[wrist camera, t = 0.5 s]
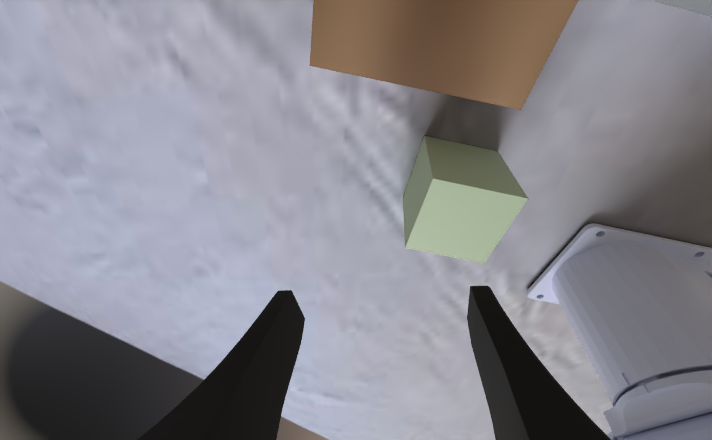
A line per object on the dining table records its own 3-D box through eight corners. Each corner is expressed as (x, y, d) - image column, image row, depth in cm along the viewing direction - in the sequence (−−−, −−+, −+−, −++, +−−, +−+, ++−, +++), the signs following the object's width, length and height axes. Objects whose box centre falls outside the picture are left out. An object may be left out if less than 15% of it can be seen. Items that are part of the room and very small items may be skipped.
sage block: (497, 151, 17) (528, 198, 13) (466, 210, 20) (483, 263, 16) (424, 135, 17) (433, 178, 13) (402, 196, 20) (405, 247, 16)
